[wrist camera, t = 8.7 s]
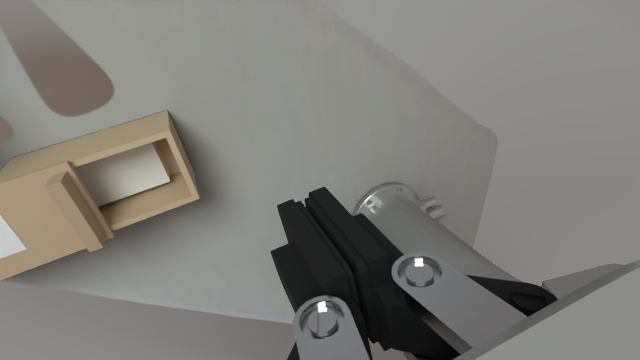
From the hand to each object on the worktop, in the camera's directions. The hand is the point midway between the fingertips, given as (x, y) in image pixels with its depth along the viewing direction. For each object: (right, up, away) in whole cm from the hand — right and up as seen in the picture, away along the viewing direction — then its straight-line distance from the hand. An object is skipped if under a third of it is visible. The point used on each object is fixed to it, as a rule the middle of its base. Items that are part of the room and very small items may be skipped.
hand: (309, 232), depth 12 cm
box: (-24, +4, +30) cm, 38 cm away
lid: (-29, -3, +21) cm, 36 cm away
